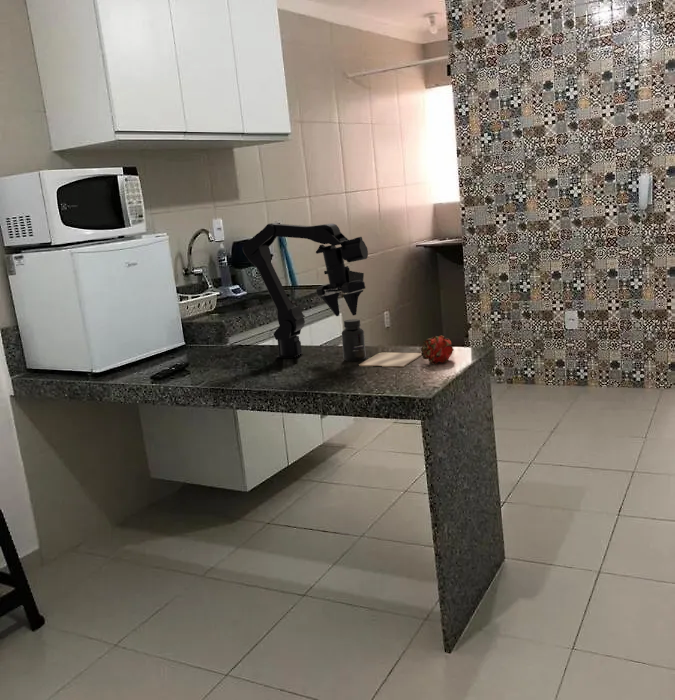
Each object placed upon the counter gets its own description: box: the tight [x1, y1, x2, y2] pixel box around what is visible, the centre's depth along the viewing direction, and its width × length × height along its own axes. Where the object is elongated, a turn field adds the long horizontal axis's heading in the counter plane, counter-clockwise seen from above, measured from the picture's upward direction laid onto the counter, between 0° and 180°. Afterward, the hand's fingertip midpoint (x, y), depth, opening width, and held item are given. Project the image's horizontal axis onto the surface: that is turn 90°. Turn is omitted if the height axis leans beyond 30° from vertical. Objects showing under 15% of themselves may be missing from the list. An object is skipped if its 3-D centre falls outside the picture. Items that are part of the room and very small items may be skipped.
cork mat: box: [358, 351, 423, 368], centre depth 220 cm, size 14×16×1 cm
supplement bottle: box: [341, 318, 367, 362], centre depth 224 cm, size 7×7×12 cm
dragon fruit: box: [420, 334, 454, 365], centre depth 211 cm, size 8×8×12 cm
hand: (346, 315), depth 228 cm, fingers open, 9 cm apart
